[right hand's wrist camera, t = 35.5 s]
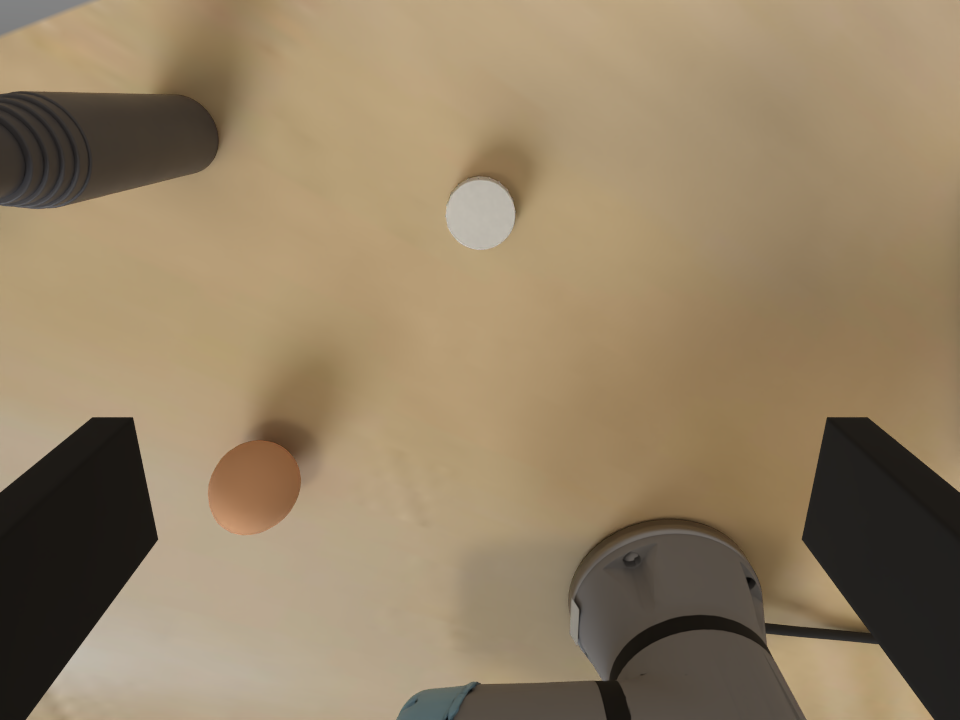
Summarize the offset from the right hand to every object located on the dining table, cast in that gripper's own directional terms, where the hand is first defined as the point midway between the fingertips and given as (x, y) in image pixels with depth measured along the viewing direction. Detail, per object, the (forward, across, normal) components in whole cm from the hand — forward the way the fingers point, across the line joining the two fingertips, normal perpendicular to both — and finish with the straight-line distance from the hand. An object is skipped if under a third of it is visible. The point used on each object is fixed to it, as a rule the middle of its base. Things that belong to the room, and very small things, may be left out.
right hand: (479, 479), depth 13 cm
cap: (+32, 0, 0) cm, 32 cm away
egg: (+34, +16, +18) cm, 41 cm away
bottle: (+34, +19, -5) cm, 39 cm away
